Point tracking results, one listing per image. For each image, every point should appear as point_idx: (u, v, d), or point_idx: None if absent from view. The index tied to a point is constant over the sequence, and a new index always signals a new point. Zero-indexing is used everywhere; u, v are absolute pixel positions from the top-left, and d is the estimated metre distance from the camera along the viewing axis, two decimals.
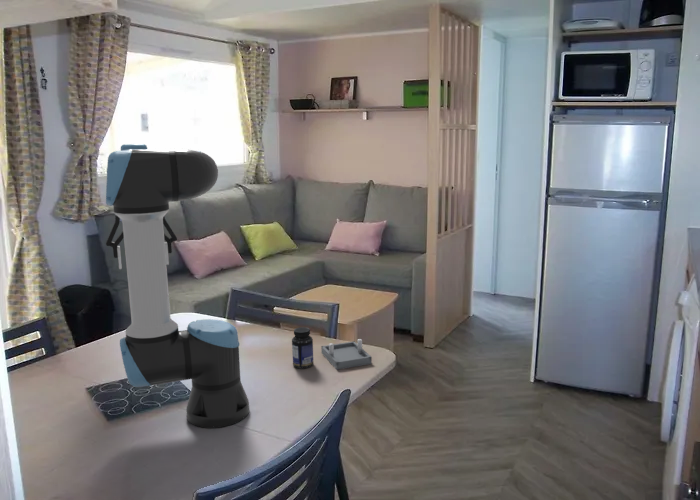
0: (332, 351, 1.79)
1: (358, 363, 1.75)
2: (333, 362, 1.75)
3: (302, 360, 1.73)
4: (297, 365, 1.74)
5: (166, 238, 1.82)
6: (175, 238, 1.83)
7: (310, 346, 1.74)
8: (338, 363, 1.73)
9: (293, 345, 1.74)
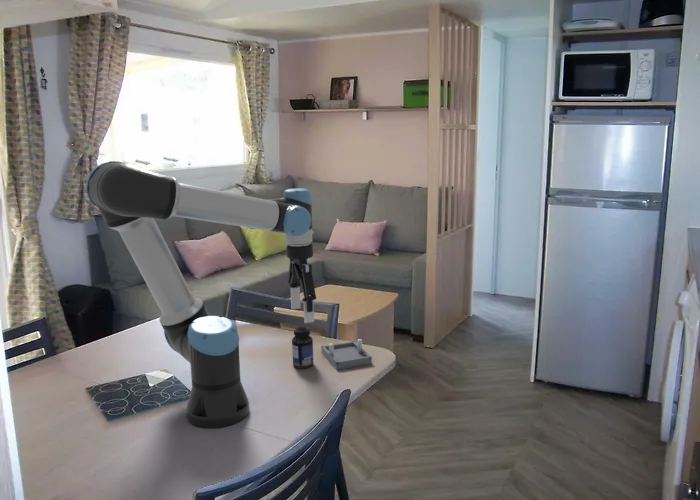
0: (332, 351, 1.79)
1: (358, 363, 1.75)
2: (333, 362, 1.75)
3: (302, 360, 1.73)
4: (297, 365, 1.74)
5: (304, 294, 1.65)
6: (306, 298, 1.63)
7: (310, 346, 1.74)
8: (338, 363, 1.73)
9: (293, 345, 1.74)
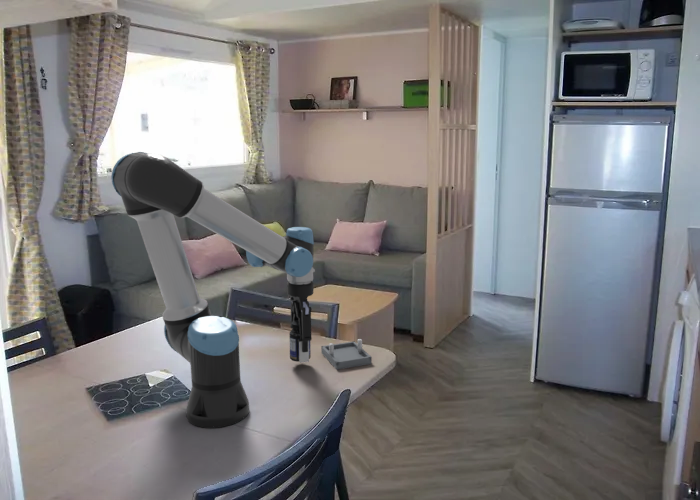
0: (332, 351, 1.79)
1: (358, 363, 1.75)
2: (333, 362, 1.75)
3: None
4: (294, 358, 1.73)
5: (300, 335, 1.70)
6: (302, 339, 1.68)
7: None
8: (338, 363, 1.73)
9: (290, 338, 1.73)
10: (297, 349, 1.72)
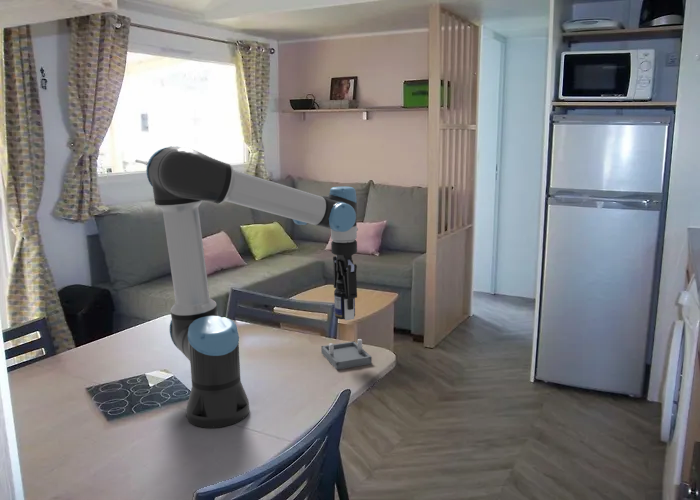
0: (332, 351, 1.79)
1: (358, 363, 1.75)
2: (333, 362, 1.75)
3: (344, 311, 1.75)
4: (339, 316, 1.76)
5: (345, 293, 1.73)
6: (348, 296, 1.71)
7: None
8: (338, 363, 1.73)
9: (336, 296, 1.75)
10: (342, 307, 1.75)
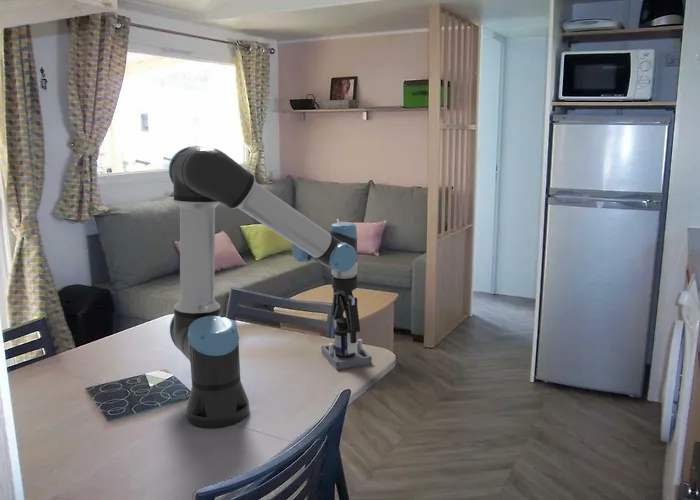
0: (332, 351, 1.79)
1: (358, 363, 1.75)
2: (333, 362, 1.75)
3: (344, 349, 1.77)
4: (340, 354, 1.78)
5: (348, 326, 1.73)
6: (351, 330, 1.71)
7: None
8: (338, 363, 1.73)
9: (336, 335, 1.78)
10: (343, 345, 1.77)
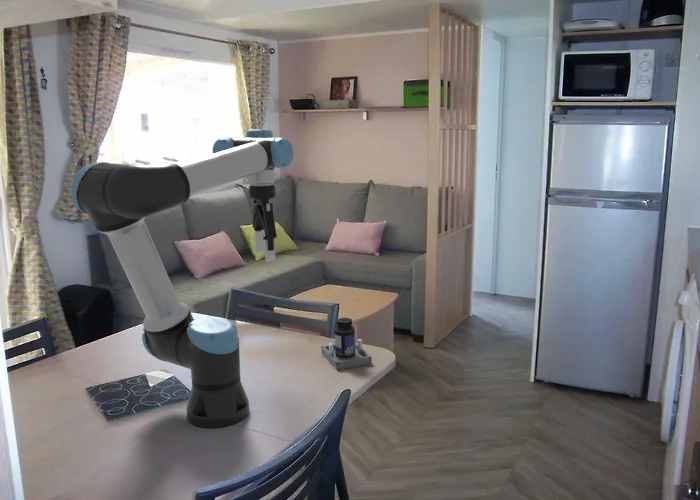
0: (332, 351, 1.79)
1: (358, 363, 1.75)
2: (333, 362, 1.75)
3: (345, 349, 1.77)
4: (340, 354, 1.78)
5: (265, 233, 1.67)
6: (267, 235, 1.65)
7: (352, 335, 1.78)
8: (338, 363, 1.73)
9: (336, 335, 1.78)
10: (343, 345, 1.77)
